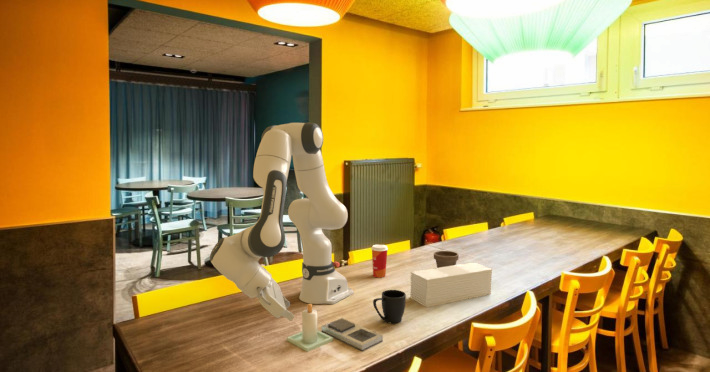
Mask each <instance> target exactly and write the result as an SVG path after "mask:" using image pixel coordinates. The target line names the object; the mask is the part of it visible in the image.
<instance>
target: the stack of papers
mask: <svg viewBox="0 0 710 372" xmlns="http://www.w3.org/2000/svg"><path fill="white" fill-rule="evenodd" d="M492 271H493V269H492V268H489V267H487V266H484V265H482V264H480V263H476V262H468V263H467V262H466V263H461V264H456V265H453V266H446V267H440V268H437V267H436V268H435V267H434V268H427V269H422V270H414V271H411V272H410V298H411V299H412V300H413V301H416V302H417V303H419V304H421V305H422V306H424V307H425V308H428V307H433V306H439V305H443V304H449V303H453V302H460V301H464V300H467V299H468V298H469V299H474V298H478V296H479V297H483V295H484V296H488V295H487V294H489V295H492V281H493V280H492V278H493V277H492V276H493V275H492V274H493V272H492ZM473 297H474V298H473ZM469 299H468V300H469Z"/></svg>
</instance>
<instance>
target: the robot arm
mask: <svg viewBox="0 0 710 372" xmlns="http://www.w3.org/2000/svg"><path fill="white" fill-rule="evenodd" d="M260 138H261V141H260V143H259V145H258V148H257V152H256V156H255V158H254V162H253V163H254V164H253V172H252V173H253V176H252V177H253V180H254V182H255V183H256V184H257V185H258V186H259V187H261V188H262V190H263V196H262V201H261V202H262V203H261V210H260V215H259V218H258V220H257V221H256V222H255V223H254V224H253V225H251V226H249V227H246V228H245V229H243V230H242V231H240V232H237V233H236V234H233V235H230V236H226V237H222V238H220V239H219V240H218V241H217V242H216V244H215V245H214V246H213V248H212V250H211V252H210V254H209V261H210V263H211V264H212V265H213V267H214V268H215V270H217V271H218V272H219V273H220V274H221V275H222V276H224V277H225V278H226V280H229V281H230V282H233V283H234V284H235V286H236V287H237V289H238V290H240V291H241V292H242V293H243V294H245V296H247V297H248V298H249V299H254V298H257V299H258V302H259V303H260V305H261V306H262V307H263V308H264V309H265V310H266V311H267V312H268V313H270V315H272V316H273V317H274V318H276V319H280V318H281V317H283V318H286V320H288V321H289V322H291V321H293V320H294V319H295V315H294V313H293V312H292V311H289V310H288V309H289V308H290V307H291V302H290V301H289V300H288V299H287V298H286V296H284V294H283V293H282V289H281V286H280V285H279V284H278V283H277V281H276V280H275V279H274V278H273V277H272V273H270V271H268V270H267V269H266V268H265V267H264V266H262V265H261V264H260V263H259V261H260V260H261V258H272V257H274V256H276V255H277V254H280V252H281V251H282V249H283V248H284V246H285V241H286V235H285V233H286V232H285V229H284V221H283V220H284V212H285V203H286V194H287V183H288V177H289V172H290V167H291V161H292V162H293V168H294V169H293V170H294V175H295V179H296V185H297V187H298V190H299V191H300V192H301V193H303V194H304V195H305V196H306V197H304V198H299V199H294V200H292V201H291V202H290V204H289V206H288V211H287V213H288V218H289V221H291V223H292V224H293V225H294V226H295V227H296V229H297V231H298V233H299V235H300V238H301V242H302V243H301V244H302V259H303V261H302V264H301V273H302V281H301V289H300V292H299V296H298V299H299V300H300V302H301V301H302V302H303V303H307V304H312V305H313V304H315V305H319V304H320V305H321V304H328V305H334V304H336V303H339V302H340V301H342V300H343V299H346V298H348V297H349V296H351V295H353V294H354V292H355V291H354V289H353V288H351V287H349V286H348V285H349V284H348V279H347V278H346V277H345V276H344V275H342V274H341V273H340V272H339V271H337V270H336V268H339V267H340V266H341V264H340V262H338V261H333V260H332V251H333V250H332V245H333V244H332V242H331V241H330V239H329V238H328V237H327V236H326V235H325V234H324V232H323V230H331V231H332V230H339V229H342V228H343V227H345V225H346V224H347V222H348V217H349V216H348V215H349V214H348V209H347V207H346V206H345V205H344V204H343V203H342V202H341V201H340V200H339V199H338V198H337V197H336V196H335V195H334V193H333V191H332V189H331V188H330V186H329V182H328V180H327V176H326V170H325V169H326V168H325V165H324V158H323V155H322V154H323V153H322V151H321V148H322V147H323V145H324V134H323V130H322V129H321V127H320V126H319V125H318V124H317V123H314V122H289V123H284V124H279V125H277V124H273V125H270V126H268V127H266V128H265V129H264V130H263V133H262V134H261V137H260ZM335 267H336V268H335Z"/></svg>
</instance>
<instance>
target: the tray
mask: <svg viewBox="0 0 710 372" xmlns="http://www.w3.org/2000/svg"><path fill="white" fill-rule="evenodd" d="M286 341H287V342H289V343H290V344H292V345H294V346H295V347H298V348H300V349H302V350H304V351H305V352H307V353H309V352H311V351H313V350H315V349H317V348H320V347H322V346H324V345H326V344H328V343H331V342H333V341H334V338H333V337H331V336H329V335H327V334H325V333H323V332H322V331H320V330H318V329H317V342H316V343H313V344H306V343H303V341H302V331H299V332H297V333H294V334H292V335H290V336H287V337H286Z"/></svg>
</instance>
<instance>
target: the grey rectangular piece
mask: <svg viewBox="0 0 710 372" xmlns="http://www.w3.org/2000/svg"><path fill="white" fill-rule="evenodd" d="M321 332H322V333H324V334H326V335H329V336H331V337H333V339H335V340H338V341H340V342H342V343H344V344H346V345H348V346H350V347H352V348H354V349H357V350H358V351H360V352H365V351H366V350H368V349H371V348H372V347H374V346H376V345H378V344H380V343H383V340H384V339H383V338H384V336H383V335H382V334H381V333H378V332H376V331H373V330H371V329H370V328H369V329H368V328H366V327H364V326H362V325H360V324H357V323H355V322H352V321H350V320H348V319H346V318H343V317H341V318H339V319H336V320H333V321H331V322H328V323H325V324H323V325H321Z"/></svg>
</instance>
